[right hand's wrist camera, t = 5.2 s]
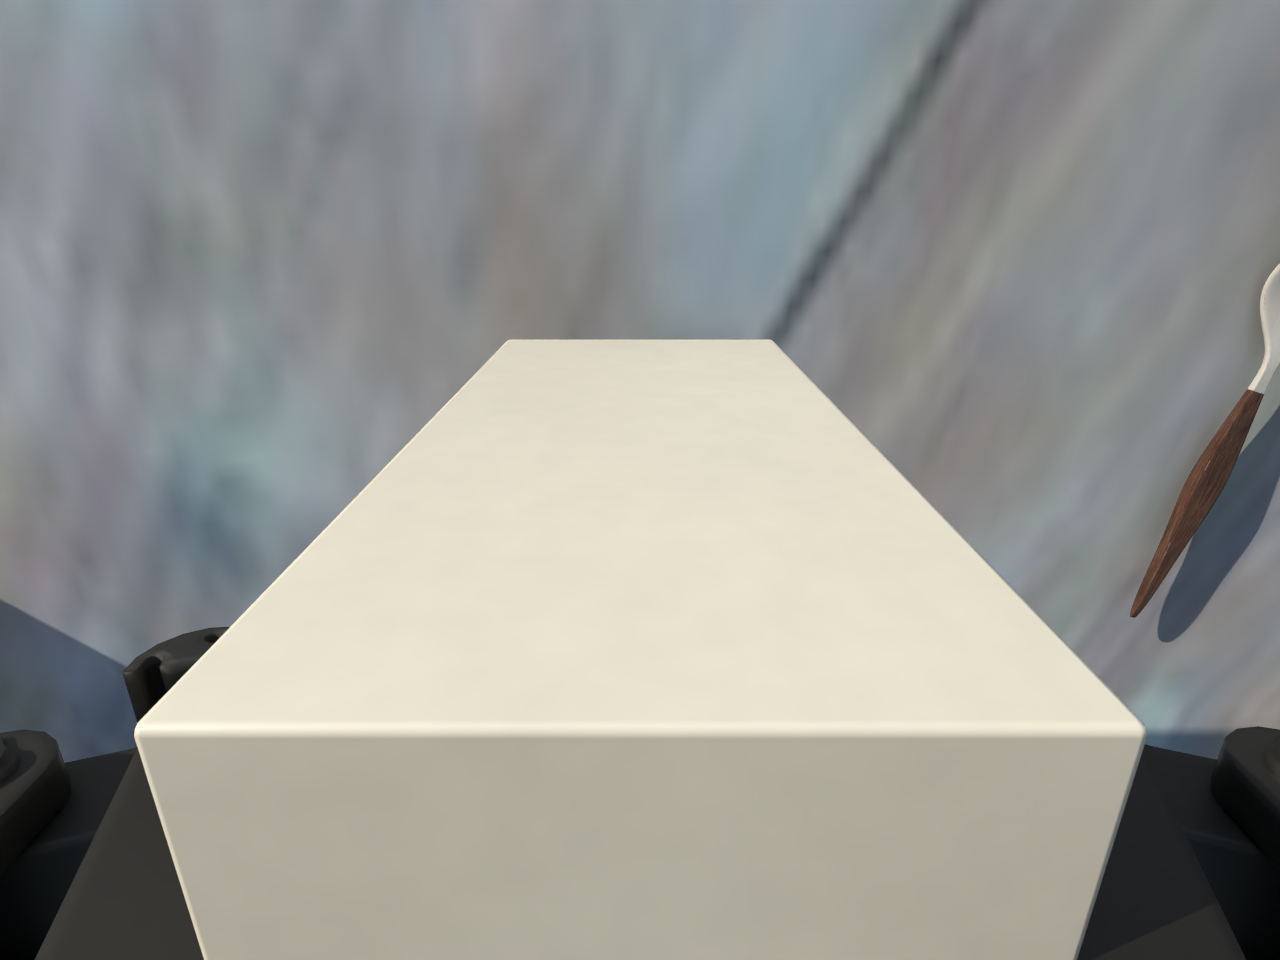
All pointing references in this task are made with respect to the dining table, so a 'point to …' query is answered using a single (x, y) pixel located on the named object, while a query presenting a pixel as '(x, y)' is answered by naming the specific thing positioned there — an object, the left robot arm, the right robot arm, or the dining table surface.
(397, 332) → the dining table surface
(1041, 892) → the box
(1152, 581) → the fork
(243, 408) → the dining table surface
